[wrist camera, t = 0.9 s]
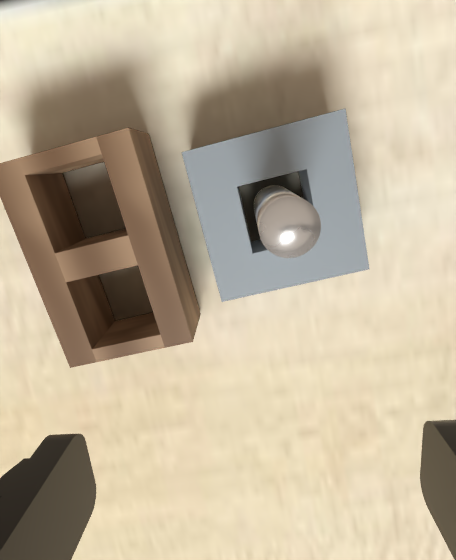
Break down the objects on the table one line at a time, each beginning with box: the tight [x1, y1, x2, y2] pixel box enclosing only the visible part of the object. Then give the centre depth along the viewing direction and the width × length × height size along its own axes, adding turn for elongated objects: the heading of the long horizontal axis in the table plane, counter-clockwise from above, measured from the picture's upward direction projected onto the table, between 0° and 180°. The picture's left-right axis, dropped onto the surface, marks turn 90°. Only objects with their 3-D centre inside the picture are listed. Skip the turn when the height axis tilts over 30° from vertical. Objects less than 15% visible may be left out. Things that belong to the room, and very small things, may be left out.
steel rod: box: [253, 185, 321, 258], centre depth 23 cm, size 3×3×10 cm
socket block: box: [182, 109, 369, 302], centre depth 26 cm, size 10×10×4 cm
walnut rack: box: [0, 128, 200, 368], centre depth 27 cm, size 9×14×5 cm, turn 14°
